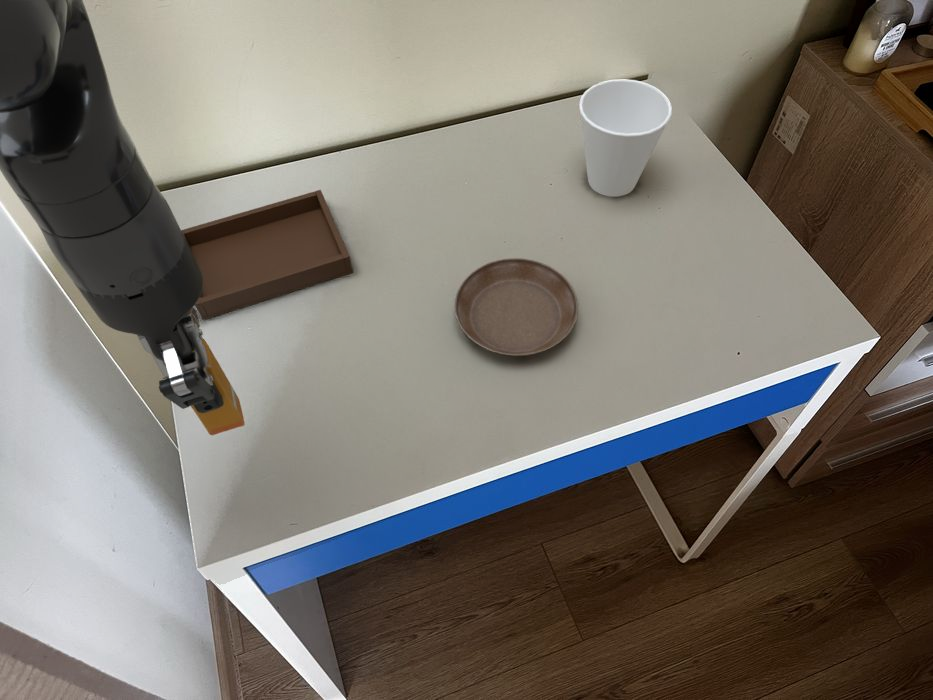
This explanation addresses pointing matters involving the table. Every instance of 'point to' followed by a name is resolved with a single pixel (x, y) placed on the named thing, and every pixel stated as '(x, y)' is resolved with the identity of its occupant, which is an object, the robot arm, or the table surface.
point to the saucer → (516, 307)
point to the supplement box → (231, 409)
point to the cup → (621, 132)
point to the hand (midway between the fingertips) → (207, 387)
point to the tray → (266, 253)
